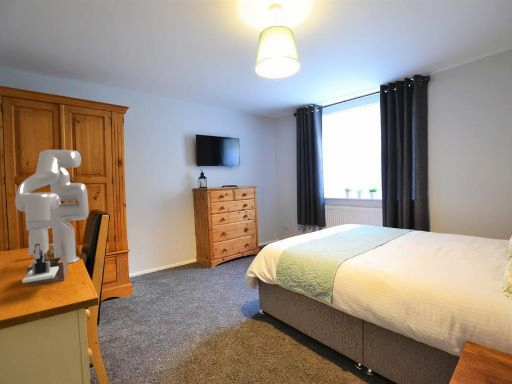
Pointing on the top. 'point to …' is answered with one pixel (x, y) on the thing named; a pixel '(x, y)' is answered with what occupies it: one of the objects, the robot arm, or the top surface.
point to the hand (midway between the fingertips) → (41, 270)
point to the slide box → (58, 276)
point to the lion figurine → (51, 248)
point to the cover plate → (40, 276)
